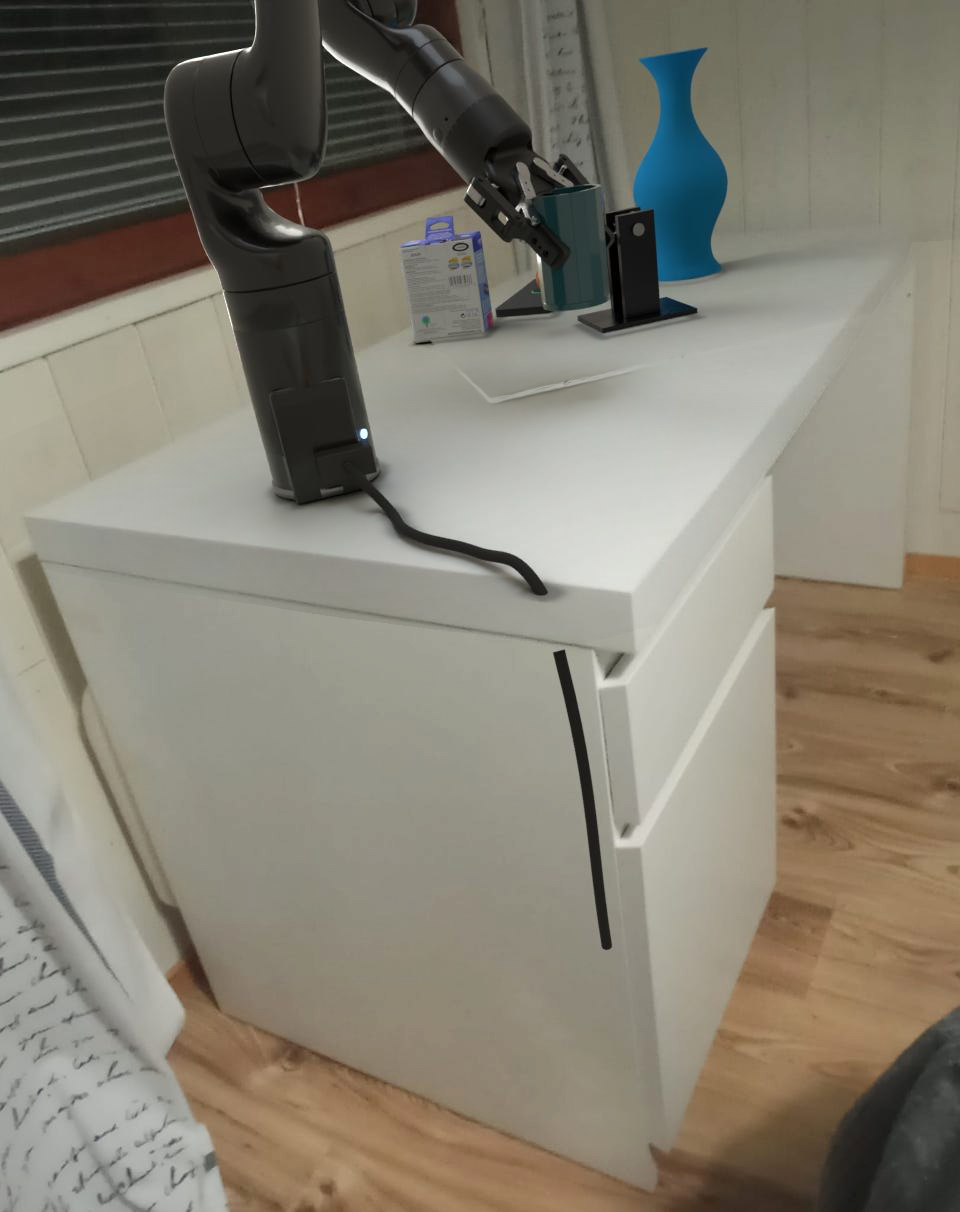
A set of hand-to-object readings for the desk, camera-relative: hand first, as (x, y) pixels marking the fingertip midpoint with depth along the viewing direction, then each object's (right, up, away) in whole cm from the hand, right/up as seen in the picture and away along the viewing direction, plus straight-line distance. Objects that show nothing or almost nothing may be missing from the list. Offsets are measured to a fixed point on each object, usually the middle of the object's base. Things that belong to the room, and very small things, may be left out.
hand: (586, 254), depth 91 cm
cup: (-1, -4, +3) cm, 5 cm away
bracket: (+9, +2, +30) cm, 32 cm away
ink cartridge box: (-13, +3, +39) cm, 41 cm away
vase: (+19, +14, +49) cm, 55 cm away
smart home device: (-1, +10, +49) cm, 50 cm away
